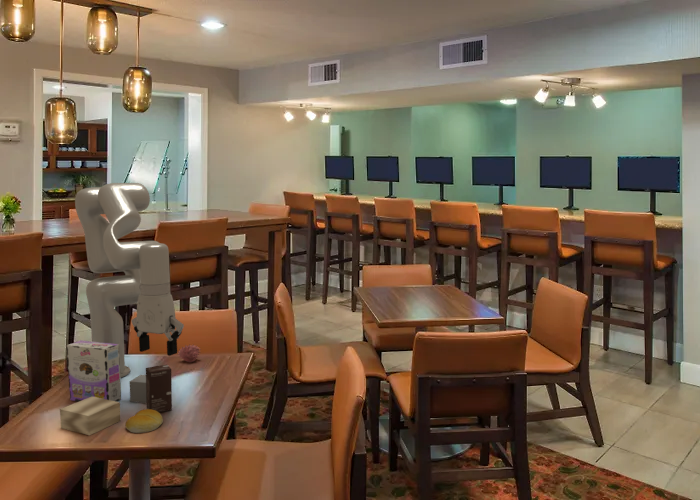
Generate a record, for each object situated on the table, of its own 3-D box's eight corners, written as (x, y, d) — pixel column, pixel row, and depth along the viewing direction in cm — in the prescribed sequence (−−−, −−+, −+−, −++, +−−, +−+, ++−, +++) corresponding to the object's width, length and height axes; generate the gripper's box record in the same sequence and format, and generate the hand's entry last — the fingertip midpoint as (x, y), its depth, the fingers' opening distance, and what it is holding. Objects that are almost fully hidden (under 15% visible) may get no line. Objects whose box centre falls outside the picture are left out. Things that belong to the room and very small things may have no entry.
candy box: (122, 399, 173) (120, 343, 171) (108, 406, 168) (105, 348, 166) (84, 393, 178) (81, 339, 176) (68, 400, 172) (65, 344, 170)
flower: (195, 349, 203) (194, 336, 207) (174, 358, 203) (172, 346, 207) (206, 361, 209) (204, 348, 213) (185, 370, 209) (183, 358, 213)
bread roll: (119, 432, 151) (119, 417, 150) (140, 419, 160) (139, 404, 159) (149, 436, 149) (148, 420, 148) (168, 422, 158) (168, 407, 157)
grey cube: (130, 401, 171) (129, 381, 171) (141, 394, 177) (140, 374, 176) (149, 403, 170) (148, 382, 169) (160, 395, 176) (159, 376, 175)
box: (150, 415, 161) (149, 371, 160) (146, 410, 165) (144, 367, 164) (173, 410, 165) (171, 367, 163) (168, 405, 168) (166, 363, 167)
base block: (61, 428, 153) (60, 409, 152) (93, 414, 162) (92, 396, 161) (89, 435, 149) (88, 415, 148) (120, 420, 158) (119, 402, 157)
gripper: (120, 289, 161) (123, 352, 163) (170, 294, 154) (173, 359, 155) (141, 285, 168) (144, 345, 170) (190, 289, 160) (193, 352, 162)
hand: (158, 352), depth 163 cm, fingers open, 9 cm apart
